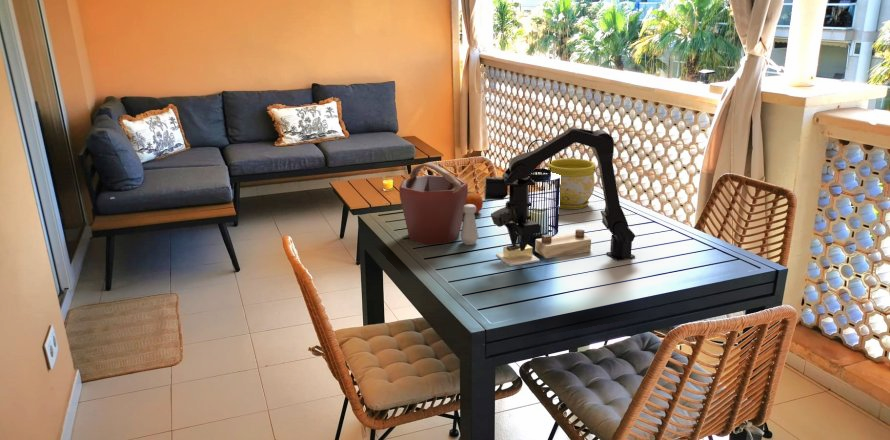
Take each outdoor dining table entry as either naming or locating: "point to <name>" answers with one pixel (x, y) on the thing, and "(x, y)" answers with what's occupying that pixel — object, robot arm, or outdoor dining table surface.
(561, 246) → the plane body
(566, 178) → the flowerpot
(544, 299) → the outdoor dining table surface
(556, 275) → the outdoor dining table surface
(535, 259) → the mat
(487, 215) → the outdoor dining table surface
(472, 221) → the salt shaker
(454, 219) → the bucket
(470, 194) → the fruit
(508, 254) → the tan slotted block
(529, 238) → the robot arm
